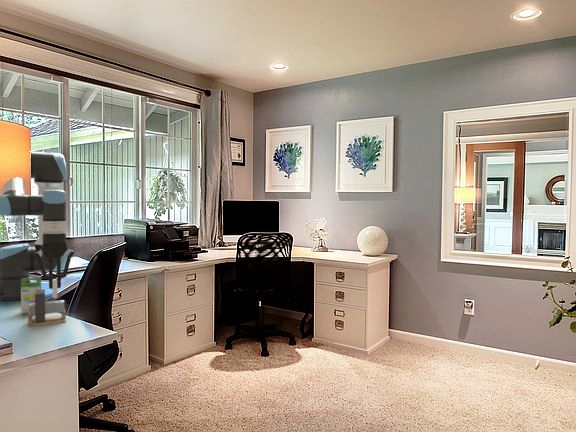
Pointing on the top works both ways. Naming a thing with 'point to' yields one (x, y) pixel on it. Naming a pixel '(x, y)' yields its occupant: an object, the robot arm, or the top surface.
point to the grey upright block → (40, 305)
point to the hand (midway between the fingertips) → (55, 297)
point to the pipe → (49, 307)
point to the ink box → (28, 292)
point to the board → (47, 320)
